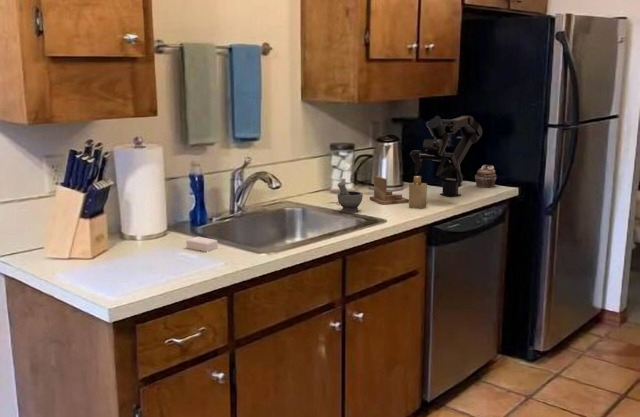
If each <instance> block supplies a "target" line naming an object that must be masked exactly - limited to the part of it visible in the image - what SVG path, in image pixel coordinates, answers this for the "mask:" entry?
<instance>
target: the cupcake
mask: <svg viewBox="0 0 640 417" xmlns="http://www.w3.org/2000/svg"><path fill="white" fill-rule="evenodd" d="M476 172H477V173H476V174H475V175H474V179H475V185H476V188H480V189H490V188H494V187H495V183H496V180H497V174H496V170H495V167H494V165H493V164H483V165H482V166H481V168H479V169H478V170H477V171H476Z"/></svg>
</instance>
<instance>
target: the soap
mask: <svg viewBox="0 0 640 417" xmlns="http://www.w3.org/2000/svg"><path fill="white" fill-rule="evenodd" d="M185 244H186V249H189V248H190V250H194V249H195V251H199V250H201V251H200V252H203V251H208V252H210V250H211V251H214V250H217V249H218V248H219V245H218V244H219V243H218V240H217V239H213V238H212V239H211V238H207V237H202V236H195V237H193V238H190V239H189V238H188V239H186V242H185ZM213 249H214V250H213Z"/></svg>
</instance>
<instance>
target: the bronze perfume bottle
mask: <svg viewBox="0 0 640 417" xmlns="http://www.w3.org/2000/svg"><path fill="white" fill-rule="evenodd" d="M427 192H428V183H425V182H422V176H421V175H414V176H413V182H411V183H408V200H409V203H408V208H410V209H411V208H412V209H417V208H418V209H419V210H422V208H423V209H425V208H427V201H428V200H427V196H428V193H427Z"/></svg>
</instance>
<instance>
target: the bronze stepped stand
mask: <svg viewBox="0 0 640 417" xmlns="http://www.w3.org/2000/svg"><path fill="white" fill-rule="evenodd" d="M373 178H374V179H373V180H374V181H373V195H374V196H373V195H372V196H369V201H371V202H372V201H373V202H375V203H377V204H380V205H381V206H384V205H386V206H387V205H397V204H406V203H408V204H409V198H405V197H404V196H403V194H393V190H387V188H388V186H387V183H388V182H387V181H388V178H385V177H382V176H379V175H373Z"/></svg>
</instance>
